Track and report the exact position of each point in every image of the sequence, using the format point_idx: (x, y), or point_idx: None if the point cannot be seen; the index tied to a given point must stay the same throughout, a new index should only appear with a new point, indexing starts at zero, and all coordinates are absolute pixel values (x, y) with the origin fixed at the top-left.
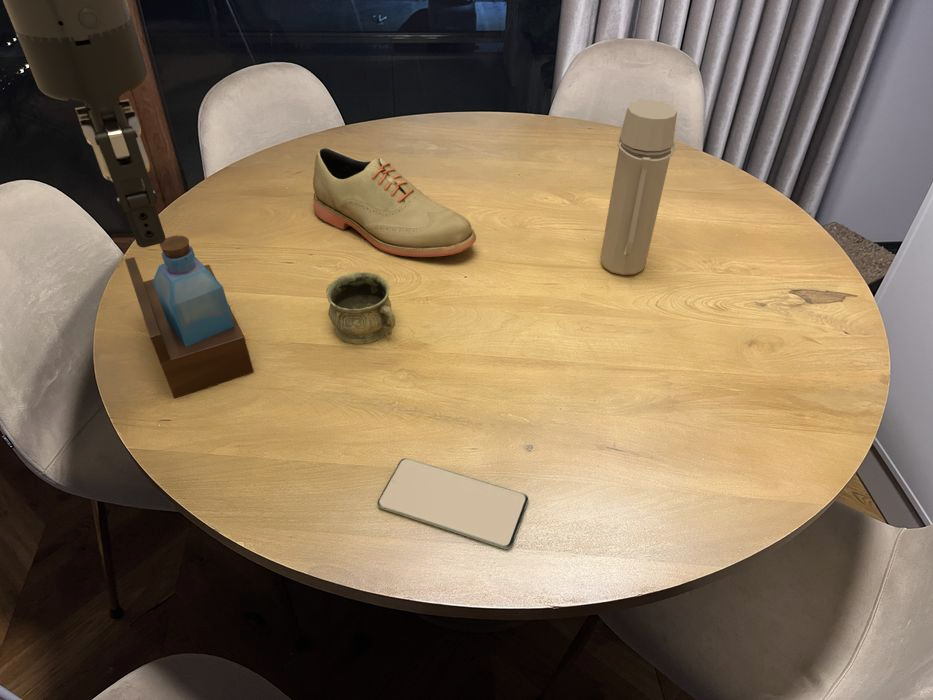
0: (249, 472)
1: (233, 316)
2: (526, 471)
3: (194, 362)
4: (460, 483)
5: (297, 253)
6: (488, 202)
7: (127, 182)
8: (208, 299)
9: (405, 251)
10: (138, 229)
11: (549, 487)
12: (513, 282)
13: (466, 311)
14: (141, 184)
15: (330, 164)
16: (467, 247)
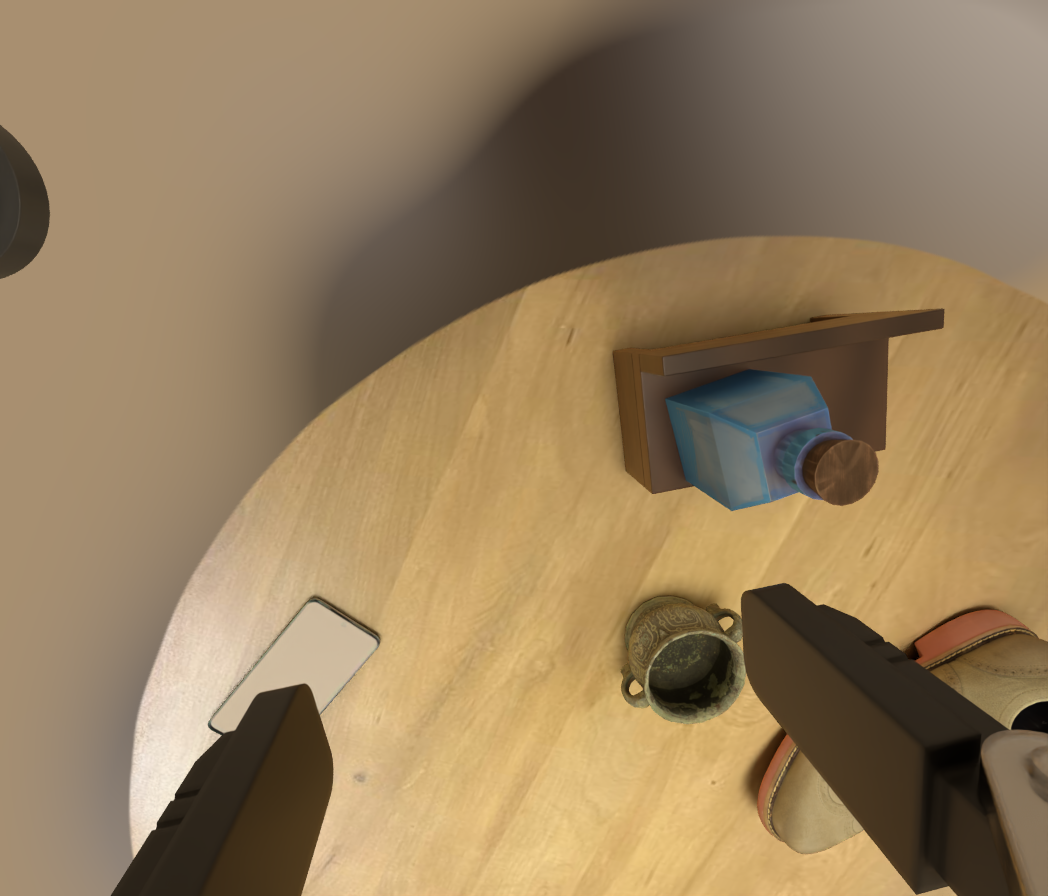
0: (425, 446)
1: None
2: None
3: (637, 403)
4: (318, 697)
5: (887, 565)
6: (876, 850)
7: (803, 689)
8: (716, 475)
9: None
10: (161, 825)
11: None
12: (673, 836)
13: (638, 767)
14: (787, 722)
15: None
16: (760, 819)
